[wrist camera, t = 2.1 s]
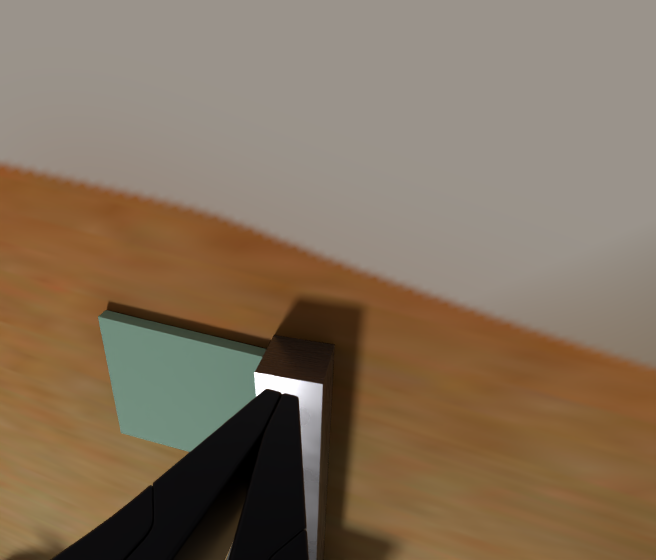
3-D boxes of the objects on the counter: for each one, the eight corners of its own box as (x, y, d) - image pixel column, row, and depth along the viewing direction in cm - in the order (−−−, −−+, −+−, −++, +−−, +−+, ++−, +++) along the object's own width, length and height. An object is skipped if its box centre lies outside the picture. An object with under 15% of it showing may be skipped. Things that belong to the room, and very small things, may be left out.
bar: (335, 340, 20) (322, 384, 17) (324, 560, 30) (314, 608, 27) (276, 330, 20) (254, 372, 18) (284, 551, 30) (271, 597, 28)
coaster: (272, 350, 20) (267, 358, 20) (263, 462, 25) (259, 471, 24) (105, 310, 21) (98, 316, 21) (126, 425, 26) (121, 432, 25)
